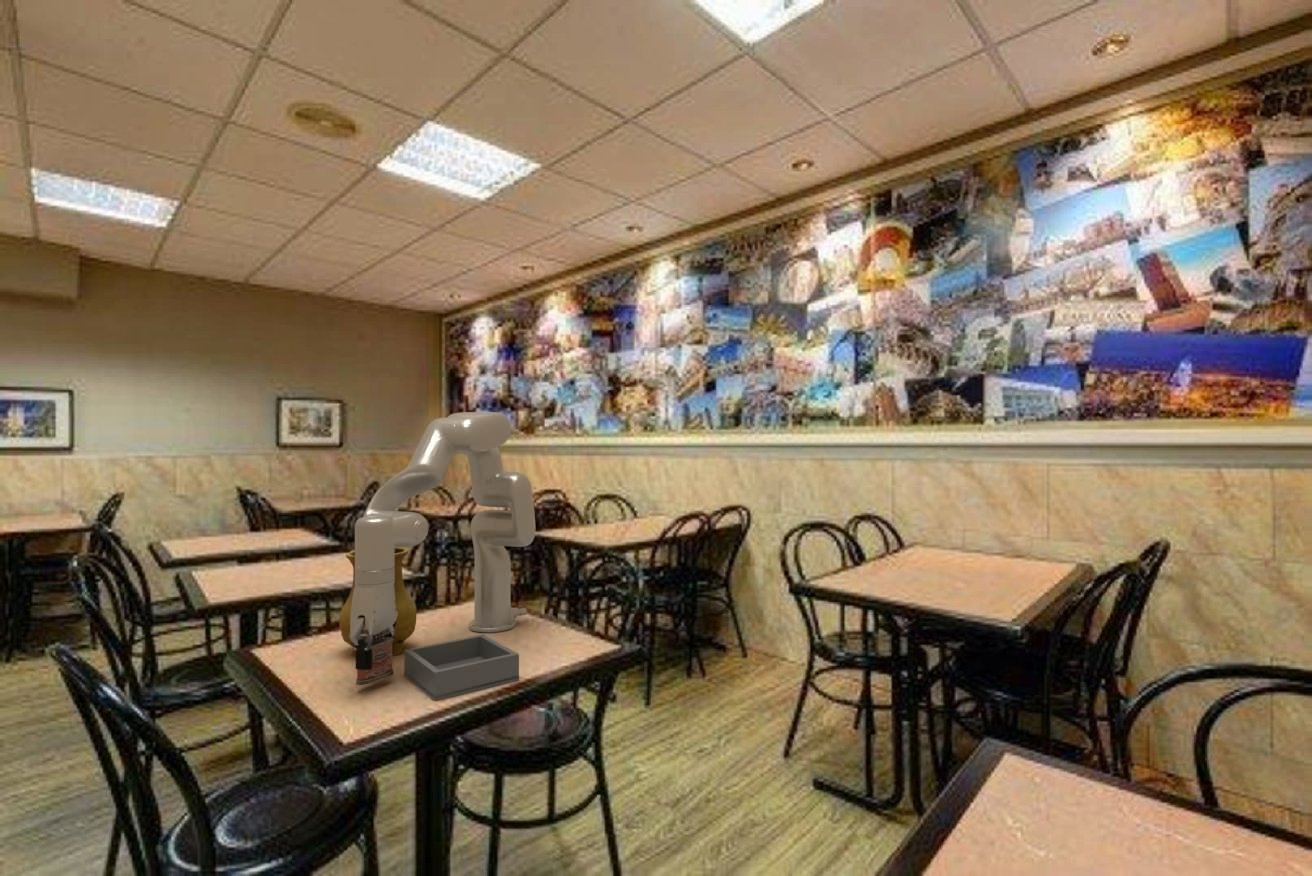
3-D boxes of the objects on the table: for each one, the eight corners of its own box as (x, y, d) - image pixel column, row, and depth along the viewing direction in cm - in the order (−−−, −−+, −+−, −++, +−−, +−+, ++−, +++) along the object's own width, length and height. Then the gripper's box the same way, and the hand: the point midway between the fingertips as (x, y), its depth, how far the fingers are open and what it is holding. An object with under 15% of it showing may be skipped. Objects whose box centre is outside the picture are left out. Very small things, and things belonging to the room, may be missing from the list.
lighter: (363, 686, 131) (363, 636, 131) (352, 683, 133) (352, 633, 133) (397, 674, 138) (397, 626, 138) (386, 671, 140) (386, 624, 140)
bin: (483, 658, 153) (483, 634, 154) (518, 680, 139) (519, 654, 139) (404, 675, 142) (404, 649, 142) (434, 701, 128) (434, 672, 128)
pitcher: (430, 639, 167) (425, 541, 166) (394, 668, 148) (388, 558, 147) (366, 639, 169) (360, 542, 167) (322, 667, 150) (316, 559, 149)
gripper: (380, 567, 145) (380, 648, 145) (332, 585, 127) (332, 676, 127) (412, 568, 144) (412, 649, 144) (369, 586, 127) (369, 678, 127)
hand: (375, 661), depth 136 cm, fingers closed on lighter, 7 cm apart
